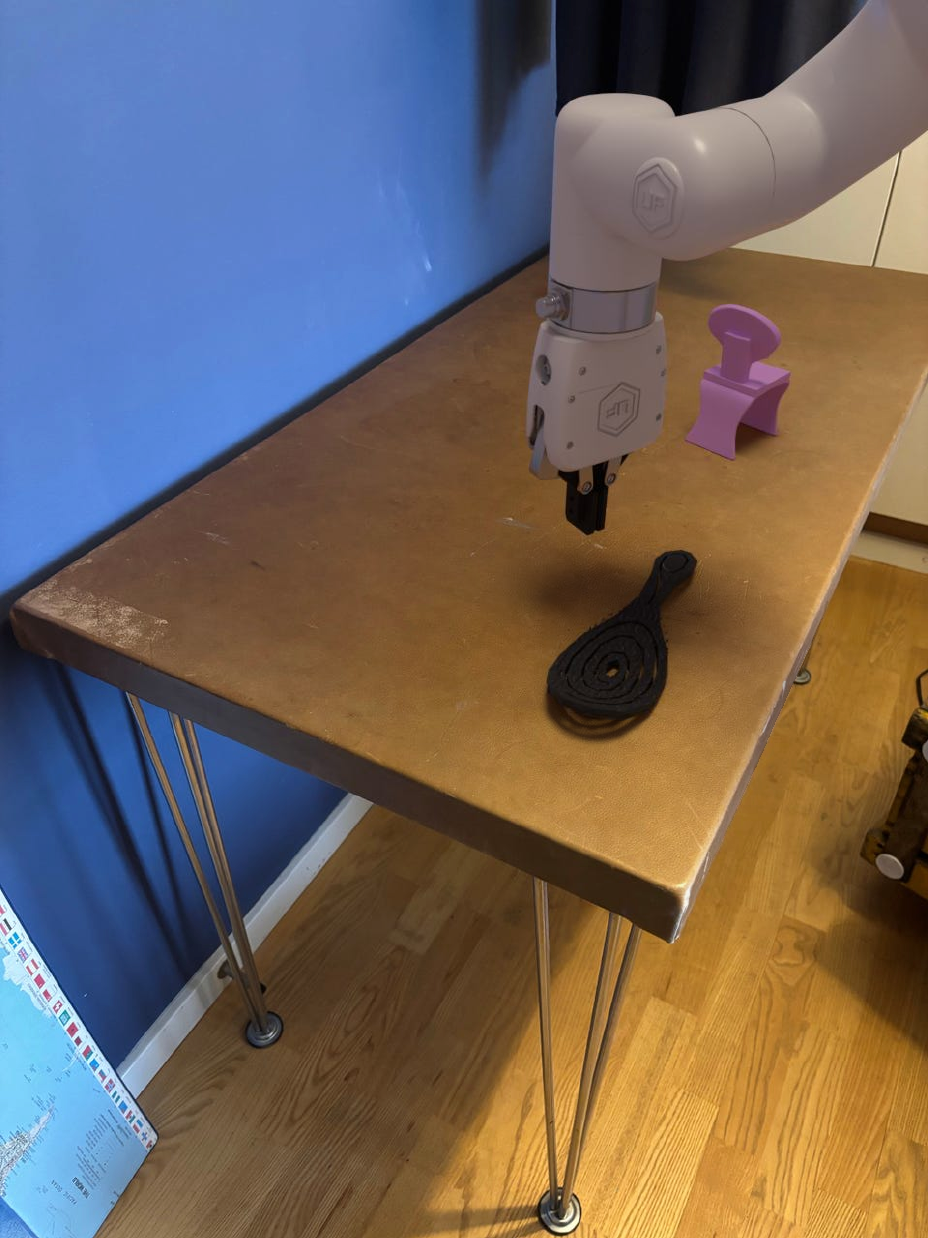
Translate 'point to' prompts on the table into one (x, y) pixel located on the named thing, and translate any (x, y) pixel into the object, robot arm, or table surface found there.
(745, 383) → the chair
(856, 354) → the table surface
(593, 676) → the hairbrush
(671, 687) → the table surface
